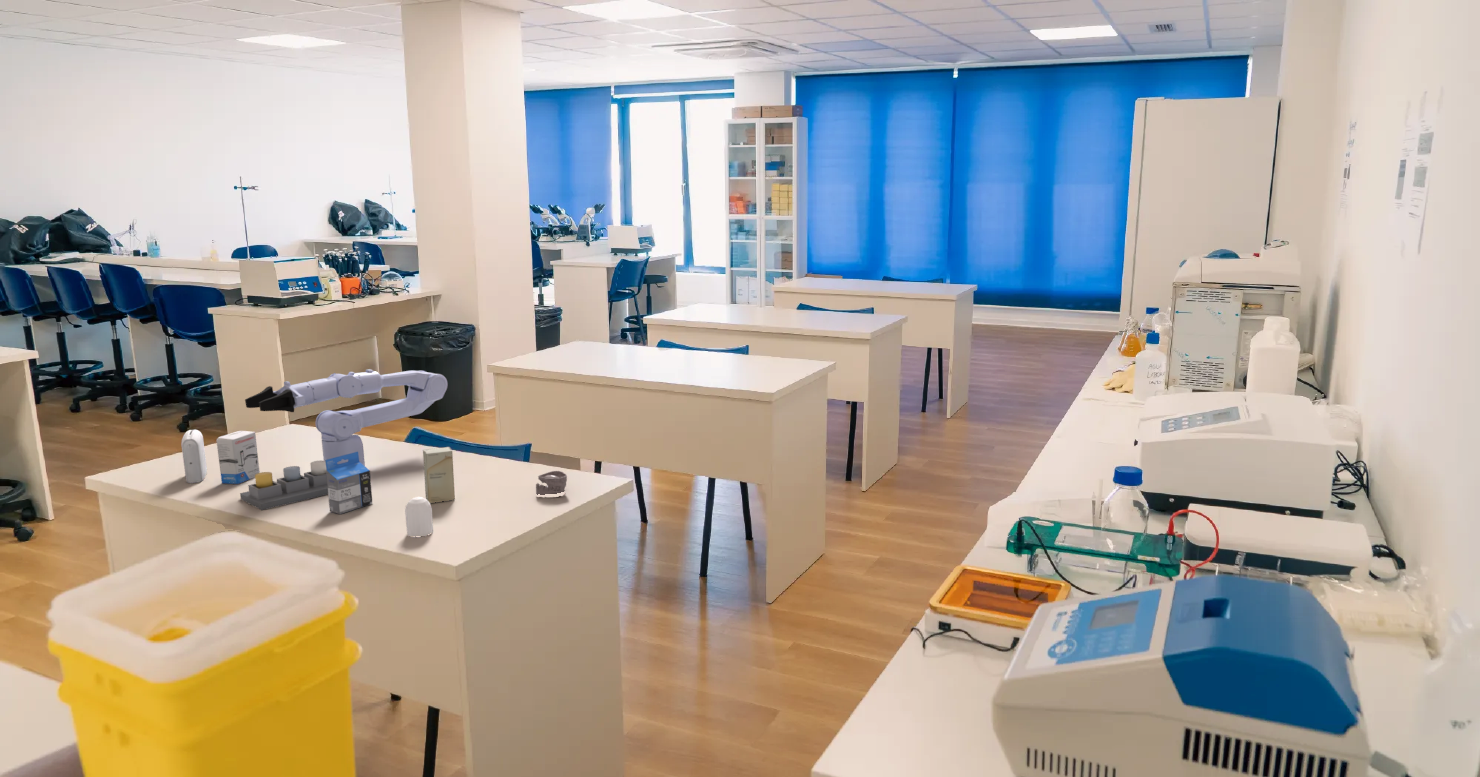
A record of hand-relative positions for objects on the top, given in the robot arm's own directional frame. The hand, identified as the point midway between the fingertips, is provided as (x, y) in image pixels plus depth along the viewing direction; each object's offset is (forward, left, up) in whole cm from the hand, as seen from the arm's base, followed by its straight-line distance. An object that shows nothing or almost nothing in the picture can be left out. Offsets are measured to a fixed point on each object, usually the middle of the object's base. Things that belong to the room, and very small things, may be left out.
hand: (253, 405), depth 230 cm
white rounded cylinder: (-10, +57, -21) cm, 62 cm away
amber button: (+3, +10, -17) cm, 20 cm away
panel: (-3, +10, -21) cm, 24 cm away
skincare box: (-25, +40, -21) cm, 52 cm away
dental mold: (-45, +57, -22) cm, 76 cm away
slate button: (-3, +10, -17) cm, 20 cm away
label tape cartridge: (-8, +30, -21) cm, 38 cm away
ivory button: (-10, +10, -17) cm, 22 cm away
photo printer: (+7, -23, -21) cm, 32 cm away
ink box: (0, -13, -21) cm, 25 cm away
